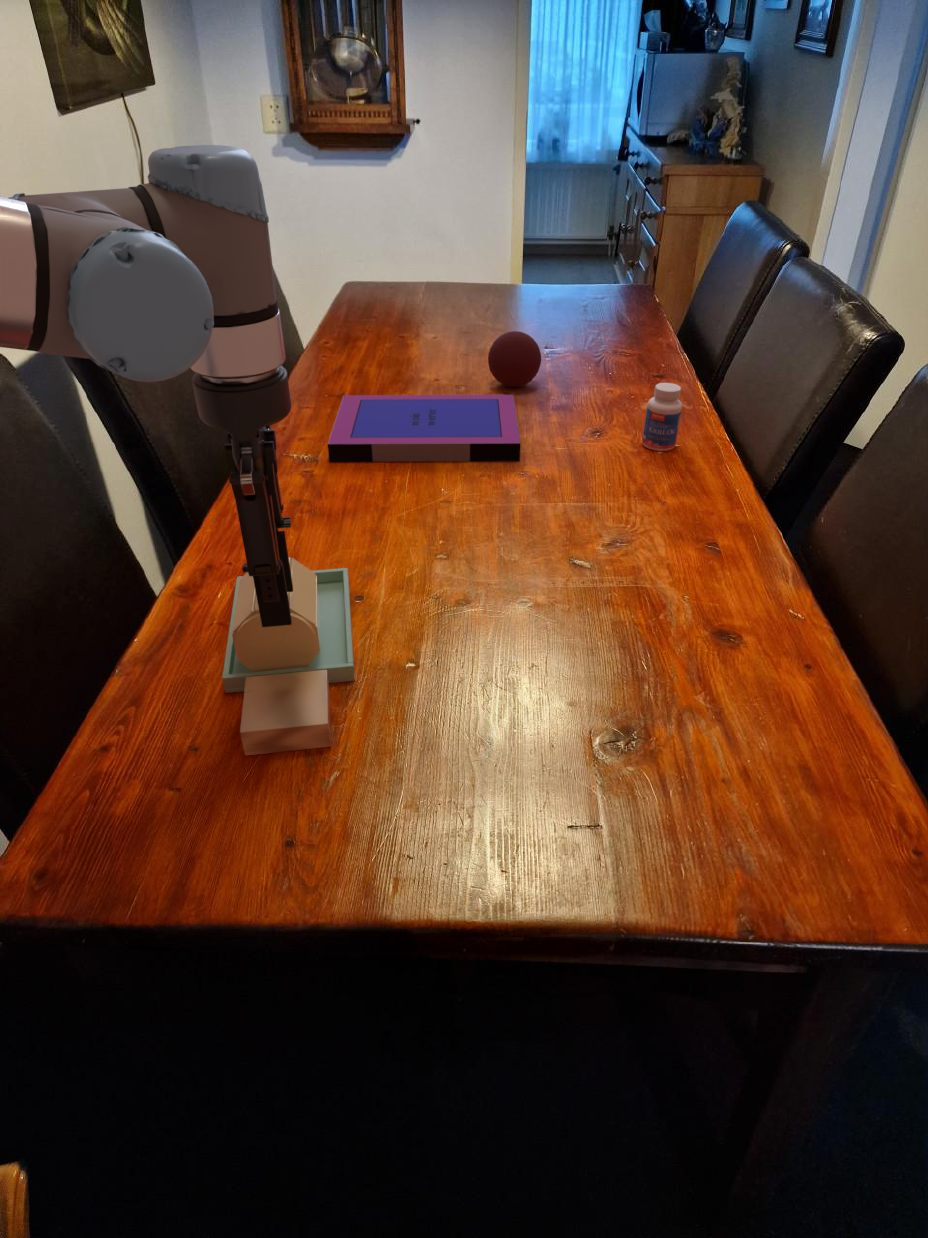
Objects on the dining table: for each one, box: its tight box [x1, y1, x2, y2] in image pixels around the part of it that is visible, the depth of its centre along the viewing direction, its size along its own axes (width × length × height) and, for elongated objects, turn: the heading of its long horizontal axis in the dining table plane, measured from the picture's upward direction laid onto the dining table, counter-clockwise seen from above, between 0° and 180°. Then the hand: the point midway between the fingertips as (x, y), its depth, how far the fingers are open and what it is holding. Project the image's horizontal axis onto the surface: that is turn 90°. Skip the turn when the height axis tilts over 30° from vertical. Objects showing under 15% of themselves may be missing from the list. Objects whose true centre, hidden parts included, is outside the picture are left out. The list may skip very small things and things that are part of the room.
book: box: [327, 394, 521, 463], centre depth 136 cm, size 21×3×30 cm
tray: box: [221, 567, 356, 694], centre depth 91 cm, size 19×13×2 cm
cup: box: [232, 556, 320, 672], centre depth 86 cm, size 8×8×10 cm
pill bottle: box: [641, 382, 683, 452], centre depth 130 cm, size 6×5×10 cm
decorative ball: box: [487, 330, 542, 388], centre depth 153 cm, size 10×10×10 cm
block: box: [239, 670, 332, 756], centre depth 79 cm, size 8×8×3 cm
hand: (278, 606), depth 79 cm, fingers open, 5 cm apart
